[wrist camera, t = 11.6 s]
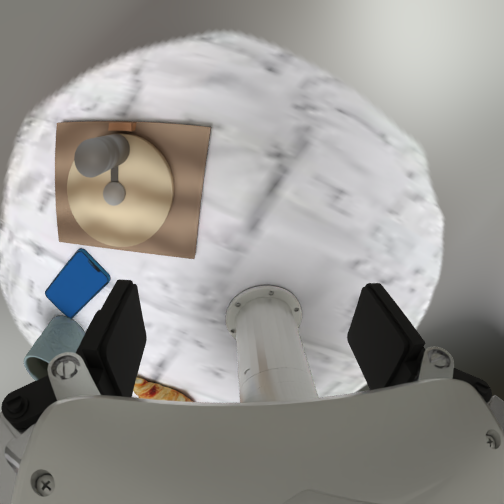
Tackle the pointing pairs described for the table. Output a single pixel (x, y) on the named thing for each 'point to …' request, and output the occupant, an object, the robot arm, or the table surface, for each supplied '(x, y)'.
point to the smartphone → (77, 283)
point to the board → (182, 168)
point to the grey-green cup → (53, 345)
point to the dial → (120, 189)
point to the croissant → (157, 391)
